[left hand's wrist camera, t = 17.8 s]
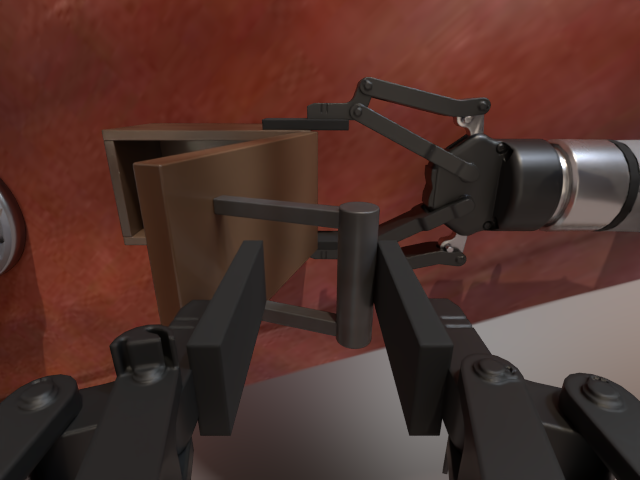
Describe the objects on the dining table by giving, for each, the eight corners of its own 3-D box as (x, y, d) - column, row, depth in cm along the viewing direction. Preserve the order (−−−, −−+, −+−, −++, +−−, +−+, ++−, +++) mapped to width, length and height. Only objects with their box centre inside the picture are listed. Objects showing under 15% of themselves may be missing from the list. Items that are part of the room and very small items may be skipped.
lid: (168, 374, 16) (351, 427, 13) (131, 162, 12) (362, 179, 10) (303, 247, 30) (405, 261, 27) (302, 131, 26) (417, 134, 24)
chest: (166, 213, 38) (124, 245, 30) (152, 123, 35) (101, 130, 27) (311, 213, 38) (310, 245, 30) (311, 123, 35) (310, 130, 27)
